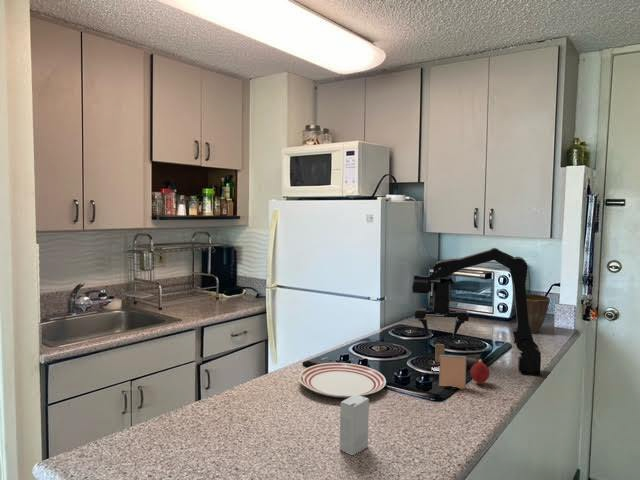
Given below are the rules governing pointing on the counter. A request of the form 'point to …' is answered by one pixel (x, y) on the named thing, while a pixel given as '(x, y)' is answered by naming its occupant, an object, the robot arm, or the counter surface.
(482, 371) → the onion
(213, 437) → the counter surface
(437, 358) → the turner
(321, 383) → the dinner plate
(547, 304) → the plant pot
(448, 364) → the tile
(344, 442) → the skincare box
